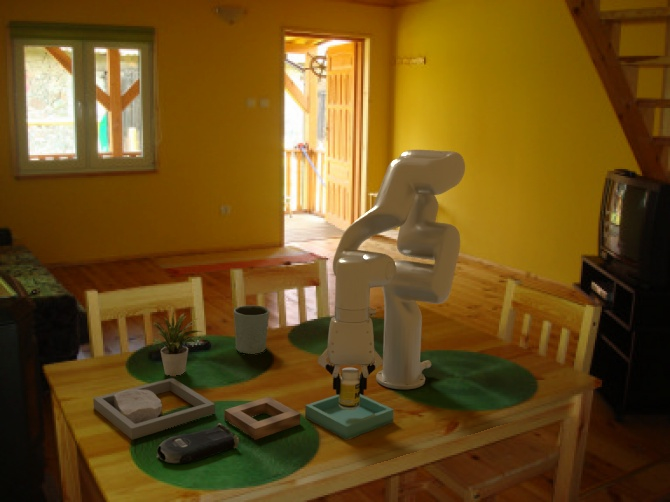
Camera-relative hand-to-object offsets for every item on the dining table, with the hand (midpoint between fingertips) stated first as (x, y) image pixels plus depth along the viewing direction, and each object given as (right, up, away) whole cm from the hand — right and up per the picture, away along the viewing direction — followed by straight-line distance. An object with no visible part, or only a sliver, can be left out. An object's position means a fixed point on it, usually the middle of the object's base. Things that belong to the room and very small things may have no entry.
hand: (349, 391), depth 156 cm
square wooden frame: (-19, -7, -1) cm, 20 cm away
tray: (0, -7, +1) cm, 7 cm away
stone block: (-48, -6, +3) cm, 48 cm away
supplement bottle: (0, -4, +1) cm, 4 cm away
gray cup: (-27, +3, +46) cm, 53 cm away
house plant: (-46, -1, +26) cm, 53 cm away
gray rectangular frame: (-45, -5, +4) cm, 45 cm away
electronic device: (-32, -10, -14) cm, 36 cm away
